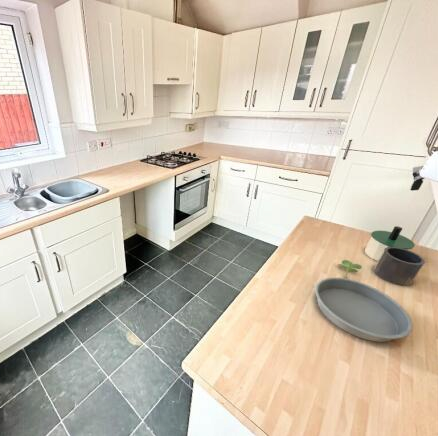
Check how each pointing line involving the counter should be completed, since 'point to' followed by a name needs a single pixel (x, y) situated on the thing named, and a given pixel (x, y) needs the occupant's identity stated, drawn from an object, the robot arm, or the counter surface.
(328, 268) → the counter surface
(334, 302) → the cake pan
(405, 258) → the cup
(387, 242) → the lid
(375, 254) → the tin
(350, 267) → the seedling
